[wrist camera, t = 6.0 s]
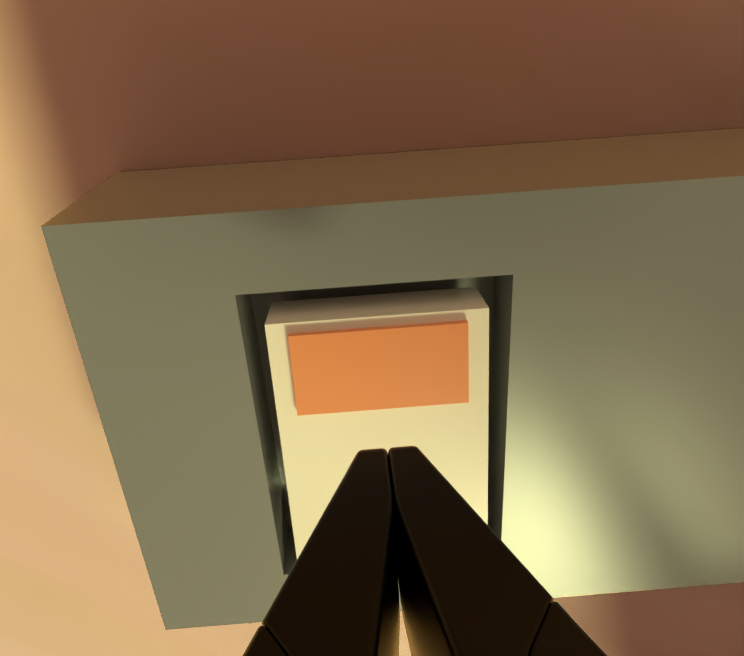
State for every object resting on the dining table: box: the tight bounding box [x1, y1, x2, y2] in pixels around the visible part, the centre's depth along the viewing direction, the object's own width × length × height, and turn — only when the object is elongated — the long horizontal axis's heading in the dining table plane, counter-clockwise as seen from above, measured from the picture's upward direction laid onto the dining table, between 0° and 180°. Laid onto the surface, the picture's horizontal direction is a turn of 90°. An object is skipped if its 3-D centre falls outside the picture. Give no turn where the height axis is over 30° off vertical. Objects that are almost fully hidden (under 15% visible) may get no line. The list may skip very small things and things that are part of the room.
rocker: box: [265, 287, 489, 559], centre depth 13 cm, size 6×4×1 cm, turn 3°
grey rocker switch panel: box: [41, 128, 744, 630], centre depth 15 cm, size 10×23×4 cm, turn 93°
